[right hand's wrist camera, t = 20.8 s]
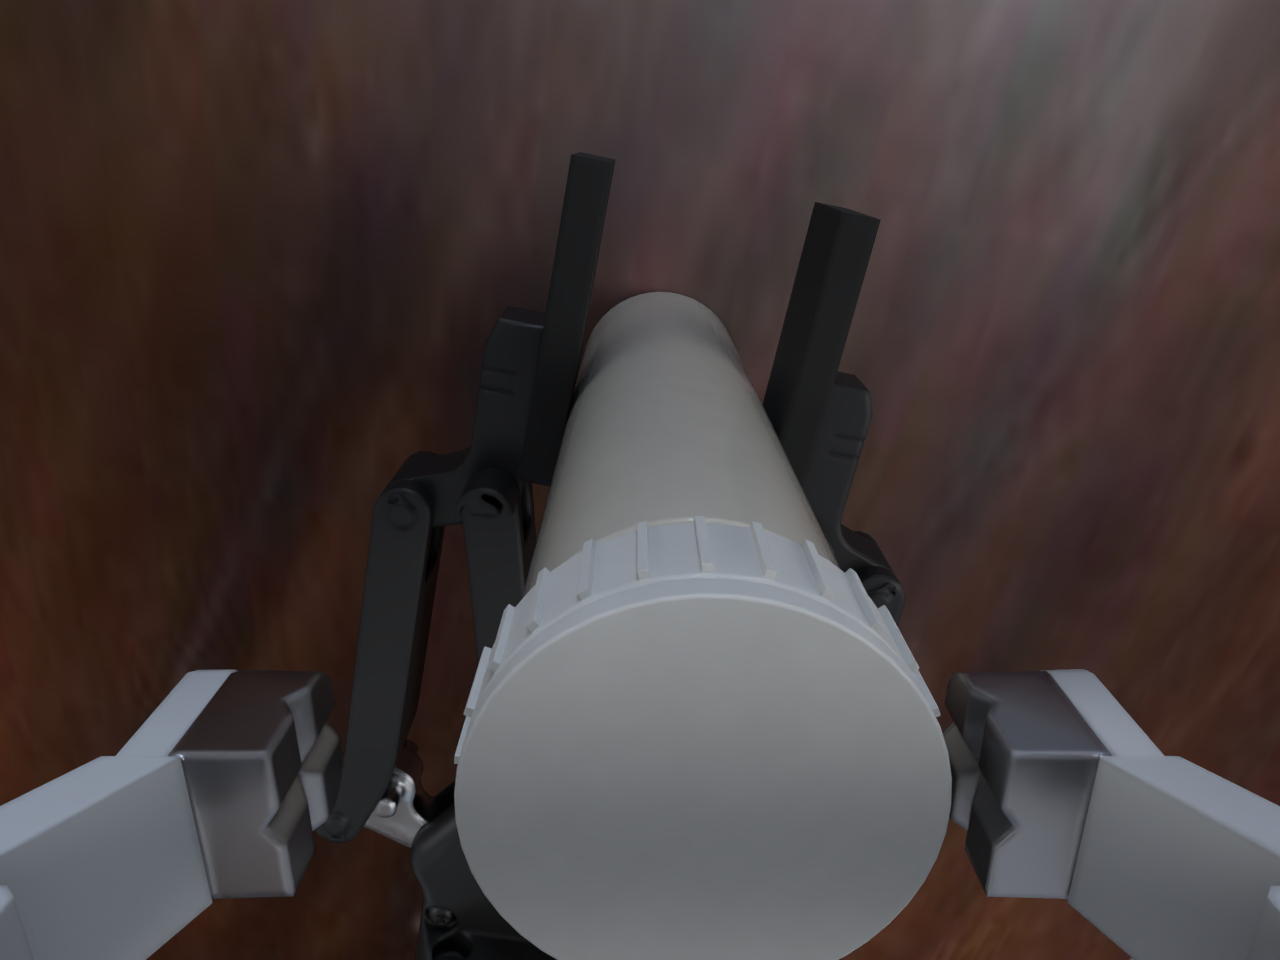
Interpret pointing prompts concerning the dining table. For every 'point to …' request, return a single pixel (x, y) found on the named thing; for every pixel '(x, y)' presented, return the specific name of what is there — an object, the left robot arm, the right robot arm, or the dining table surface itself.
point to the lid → (700, 754)
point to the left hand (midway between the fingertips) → (720, 186)
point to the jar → (666, 437)
